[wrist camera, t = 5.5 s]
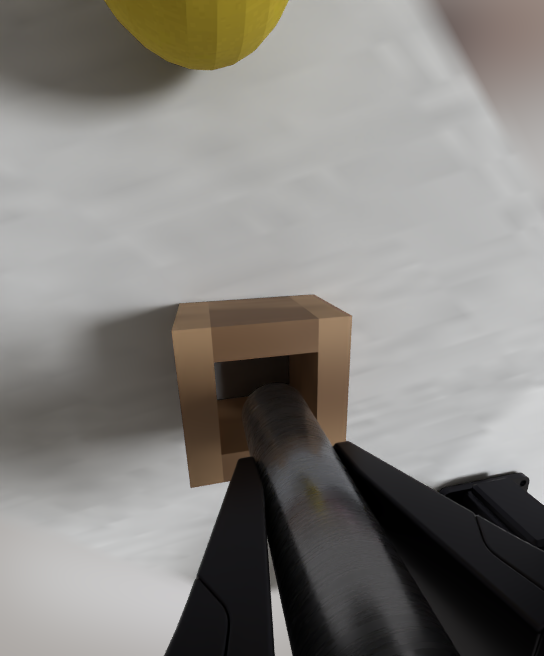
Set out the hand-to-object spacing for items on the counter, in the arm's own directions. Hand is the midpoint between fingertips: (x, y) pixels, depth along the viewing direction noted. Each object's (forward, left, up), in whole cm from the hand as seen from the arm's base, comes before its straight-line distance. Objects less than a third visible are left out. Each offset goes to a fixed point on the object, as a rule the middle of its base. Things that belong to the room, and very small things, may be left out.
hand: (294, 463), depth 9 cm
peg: (0, 0, -2) cm, 2 cm away
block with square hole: (0, 0, -7) cm, 7 cm away
